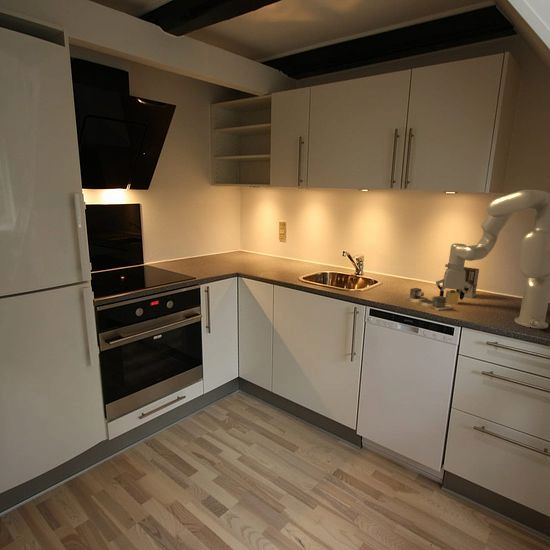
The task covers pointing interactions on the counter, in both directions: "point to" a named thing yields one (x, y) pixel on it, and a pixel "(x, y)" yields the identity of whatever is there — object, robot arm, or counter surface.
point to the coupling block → (452, 297)
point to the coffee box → (470, 281)
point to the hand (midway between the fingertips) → (451, 298)
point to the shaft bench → (428, 300)
